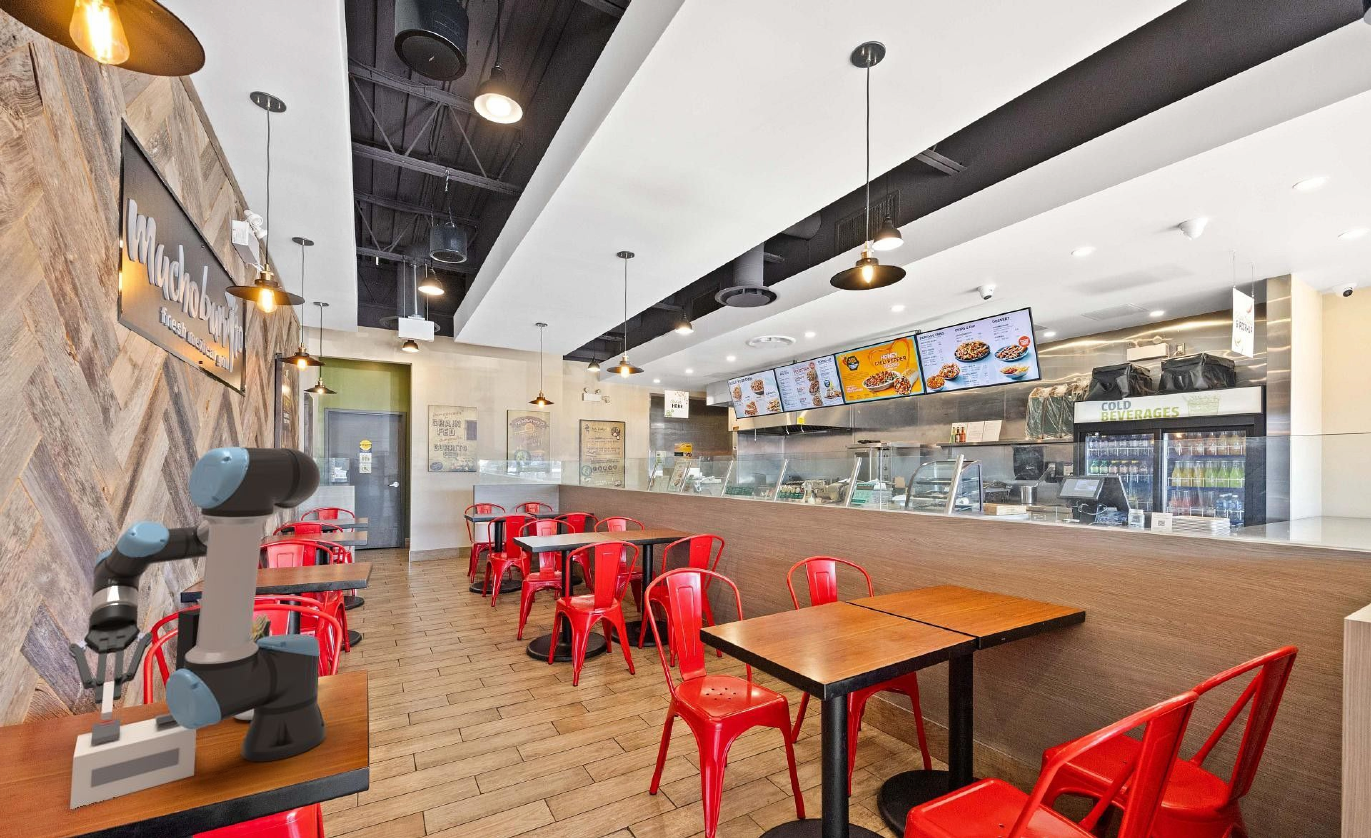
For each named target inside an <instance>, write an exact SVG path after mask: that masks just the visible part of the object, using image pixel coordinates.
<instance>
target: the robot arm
mask: <svg viewBox="0 0 1371 838" xmlns="http://www.w3.org/2000/svg"><path fill="white" fill-rule="evenodd" d="M189 476H190V477H189V480H188V493H189V494H190V495H189V498H190V501H191V502H192V503H193V505H195V506H196V507H197V508H201V511H200V512H201V513H200V515H201V517H203V518H204V519H205V520H203V521H202V522H200V523H199V524H197V525H195V526H184V527H173V528H167V527H166V526H164V525H163V524H161V523H158V522H152V521H151V520H150V521H149V520H148V521H147V520H145V521H139V522H136V523H134V524H132V525H131V526H130V527H128V528H127V529H126V531H124V533H123V534H122V535H120V537H119V539H118V540H117V542H116V544H115V546H114V547H113V548H112V549H109V550H107V551H106V552H104V553H101V554H100V555H99V556H98V557H97V559H96V561H95V566H94V568H93V584H92V592H91V593H92V597H91V601H90V602H91V603H90V613H89V614H90V616H89V622H88V623H89V624H88V632H87V634H86V635H85V636H84V638H83V640H82V641H80V642H78V643H75V642H74V643H71V644H69V645H68V655H69V656H70V657H72V659H74V660H75V663H76V667H77V671H78V674H79V677H80V681H81V683H82V687H83V689H84V690H89V689H93V690H95V691H94V703H95V705H97V704H98V705H99V704H101V713H100V714H101V715H100V716H101V717H100V722H103V721H108V720H113V719H112V718H113V709H114V708H113V705H114V701H119V700H120V699H121V698H122V690H123V689H122V688H123V685H124V684H125V683H127V682H132V681H133V680H134V679H135V677H136V674H137V672H138V669H139V667H140V664H141V661H142V659H143V655H144V654H145V651H146V648H148V647H149V645H151V643H152V641H153V636H154V635H153V633H152V632H146V633H144V632H141V629H140V628H139V627H138V618H139V617H138V616H139V611H138V610H139V593H140V592H139V589H140V580H141V577H142V576H143V574H144V573H145V572H146V571H147V570H148V569H149V567H150V566H151V565H152V564H161V563H168V562H174V561H181V560H189V559H198V558H200V559H201V558H205V561H204V562H205V564H204V573H203V583H202V590H201V598H200V599H201V606H200V607H199V608H200V616H199V625H198V634H197V643H196V646H195V647H194V648H192V649H191V650H190V651H189V652H187V653H186V655H185V662H184V668H183V669H179V670H177V671H176V670H175V671H174V672H172V673H171V674H170V675H169V677H168V678H167V680H166V684H165V700H166V704H167V708H168V710H169V713H171V714H172V716H173V718H174V719H175V720H176V722H177V723H178V724H180V725H181V726H182V727H185V728H187V729H196V730H197V729H201V728H205V727H207V726H211V725H216V724H219V723H220V722H223V721H224V720H228V719H231V718H233V717H234V716H236V715H239V714H241V713H244V712H247V711H249V710H252V709H254V714H253V718H252V720H250V723H249V726H248V729H247V732H246V736H245V737H244V739H243V741H242V742H241V743H242V744H241V757H242V758H243V759H244V760H246V761H251V762H271V761H277V760H282V759H287V758H290V757H293V756H297V755H300V754H303V753H305V752H307V751H310V750H311V749H313V748H314V749H315V747H317V746H318V745H320V744H322V742H323V741H324V740H325V739H326V729H327V727H326V723H325V721H324V718H323V713H322V712H321V708H320V705H319V704H318V703H319V702H318V697H319V695H318V693H319V692H318V691H319V669H320V668H319V664H320V663H319V662H320V656H321V653H320V644H319V643H320V642H319V640H318V638H317V637H315V636H314V635H309V634H300V633H299V634H297V633H296V634H295V633H294V634H293V633H292V634H291V633H290V634H278V635H277V634H276V635H269V636H268V637H263V638H261V639H259V640H258V641H257V644H256V643H254V642H253V641H252V640H251V629H252V621H253V620H254V609H255V601H256V591H257V583H258V574H259V564H260V554H261V544H262V535H263V526H264V522H266V521H267V520H268V519H270V518H271V517H273V516H274V515H276V514H278V513H280V512H281V511H283V510H290V509H294V508H296V507H297V506H299V505H302V504H303V503H304V502H306V501H307V500H308V499H310V498H311V497H312V496H313V494H315V492H316V491H317V489H318V487H319V486H320V485H319V484H320V481H321V472H320V468H319V466H318V464H317V462H316V461H315V460H314V459H313V458H312V457H311V456H310V455H309V454H307V453H305V452H304V451H302V450H298V449H295V448H294V449H293V448H289V447H288V448H285V447H283V448H282V447H281V448H275V447H272V448H271V447H244V446H230V447H216V448H213V449H211V450H209V451H207V452H205V453H204V454H203V455H202V456H201V457H200V458H199V459H198V460H197V461H196V463H195V464H194V466H193V468H192V470H191V474H190V475H189ZM135 641H136V643H137V646H136V647H135V651H134V653H133V656H132V659H131V661H130V664H128V665H129V666H128V668H127V671H126V672H125V673H123V672H124V658H125V657H124V656H125V655H124V653H125V650H127V649H128V648H129V647H130V646H131V645H132V644H133V643H134V642H135ZM87 647H88V648H89V649H90V650H91V651H93V652H94V653H95V654H97V655H98V657H97V666H96V668H97V669H96V678H93V677H92V673H91V670H90V668H89V663H88V660H87V658H86V651H87V650H86V649H87ZM112 653H113V654H115V659H114V660H115V661H114V676H113V680H112V681H106V671H107V670H106V669H107V659H108V654H112ZM105 681H106V682H105Z"/></svg>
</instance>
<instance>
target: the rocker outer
mask: <svg viewBox="0 0 1371 838" xmlns="http://www.w3.org/2000/svg"><path fill="white" fill-rule="evenodd" d="M121 719H122V718H121V717H119V718H114V719H108V720H104V721H100V722H96V723H93V724H92V730H91V731H92V732H91V733H92V739H91V745H92V744H97V743H101V742H105V741H109V740H114V739H118V738H119V737H120V726H121Z"/></svg>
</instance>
